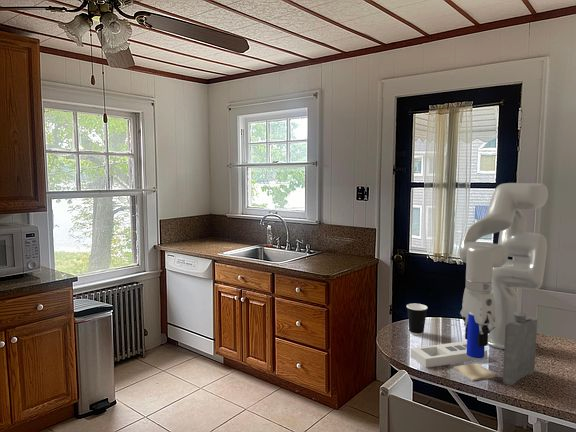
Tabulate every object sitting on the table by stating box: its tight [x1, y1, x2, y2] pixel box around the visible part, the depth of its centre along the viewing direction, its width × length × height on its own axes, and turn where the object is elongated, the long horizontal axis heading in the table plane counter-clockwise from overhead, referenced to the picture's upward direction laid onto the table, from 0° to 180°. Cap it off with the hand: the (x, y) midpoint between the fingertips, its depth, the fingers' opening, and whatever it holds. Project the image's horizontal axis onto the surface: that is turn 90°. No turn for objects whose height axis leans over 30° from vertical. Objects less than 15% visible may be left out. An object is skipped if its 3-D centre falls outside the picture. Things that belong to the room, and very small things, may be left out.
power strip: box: [410, 340, 488, 369], centre depth 152 cm, size 24×9×4 cm, turn 106°
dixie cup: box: [406, 303, 429, 337], centre depth 174 cm, size 8×8×11 cm
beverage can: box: [466, 312, 486, 361], centre depth 139 cm, size 5×5×15 cm
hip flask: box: [502, 312, 538, 386], centre depth 137 cm, size 16×4×20 cm, turn 127°
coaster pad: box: [453, 362, 498, 382], centre depth 141 cm, size 9×9×1 cm
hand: (476, 341), depth 139 cm, fingers closed on beverage can, 5 cm apart
